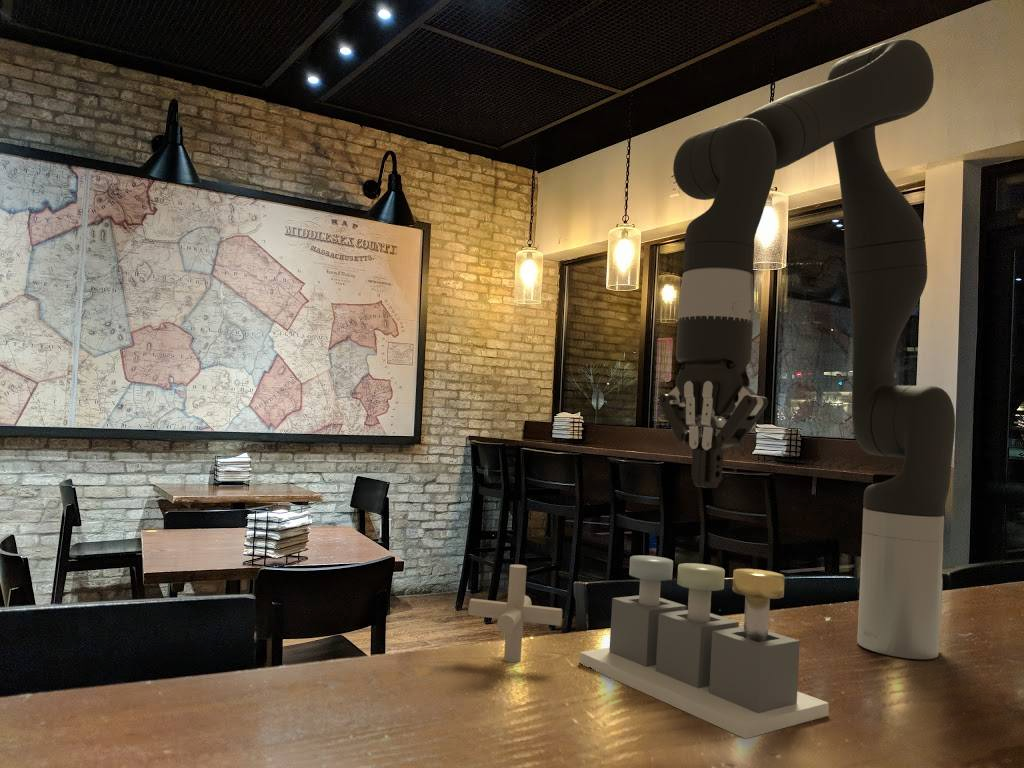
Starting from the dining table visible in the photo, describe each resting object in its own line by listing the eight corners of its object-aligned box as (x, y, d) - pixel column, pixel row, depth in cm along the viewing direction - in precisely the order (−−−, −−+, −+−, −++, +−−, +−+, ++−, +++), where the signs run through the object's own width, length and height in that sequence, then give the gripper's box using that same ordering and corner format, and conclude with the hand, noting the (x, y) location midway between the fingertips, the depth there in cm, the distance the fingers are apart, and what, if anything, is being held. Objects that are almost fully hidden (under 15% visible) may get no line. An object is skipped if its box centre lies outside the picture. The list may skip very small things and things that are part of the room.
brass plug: (750, 653, 78) (754, 567, 78) (790, 666, 74) (794, 577, 74) (718, 658, 75) (723, 570, 75) (759, 673, 71) (763, 580, 71)
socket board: (658, 650, 92) (661, 590, 93) (828, 715, 74) (831, 640, 75) (579, 663, 85) (582, 597, 86) (745, 738, 67) (749, 655, 68)
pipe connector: (551, 680, 79) (557, 579, 80) (455, 667, 81) (461, 569, 82) (564, 652, 89) (569, 563, 90) (478, 641, 91) (484, 554, 92)
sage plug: (695, 641, 83) (699, 562, 84) (730, 654, 79) (734, 570, 80) (664, 646, 81) (668, 564, 81) (698, 659, 77) (703, 573, 77)
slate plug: (647, 629, 89) (651, 554, 89) (677, 639, 85) (682, 562, 86) (616, 633, 86) (621, 556, 87) (647, 644, 83) (651, 564, 83)
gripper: (793, 318, 78) (784, 494, 77) (691, 326, 89) (682, 480, 88) (743, 308, 74) (733, 494, 73) (643, 317, 85) (633, 480, 84)
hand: (705, 486), depth 81 cm, fingers closed
